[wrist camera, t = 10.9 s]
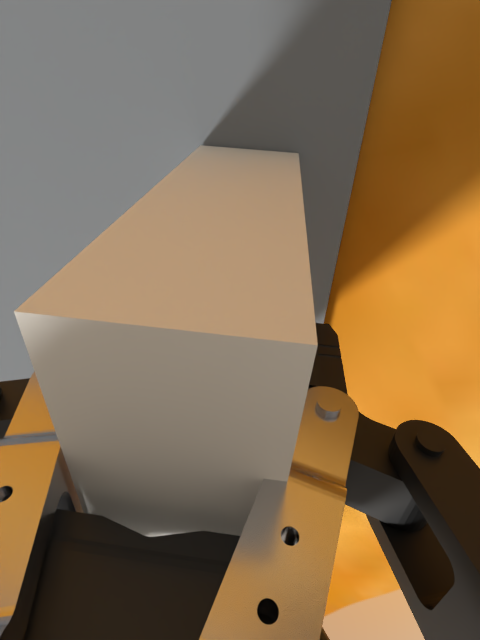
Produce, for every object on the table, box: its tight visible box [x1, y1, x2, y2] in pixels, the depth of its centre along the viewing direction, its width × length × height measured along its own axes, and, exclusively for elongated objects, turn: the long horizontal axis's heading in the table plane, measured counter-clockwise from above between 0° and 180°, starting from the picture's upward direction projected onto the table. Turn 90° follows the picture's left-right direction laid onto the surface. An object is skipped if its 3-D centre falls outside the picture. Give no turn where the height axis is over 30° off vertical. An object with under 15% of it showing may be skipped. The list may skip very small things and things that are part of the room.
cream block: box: [14, 145, 318, 537], centre depth 11 cm, size 9×4×11 cm, turn 177°
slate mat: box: [0, 0, 392, 382], centre depth 16 cm, size 22×18×1 cm
